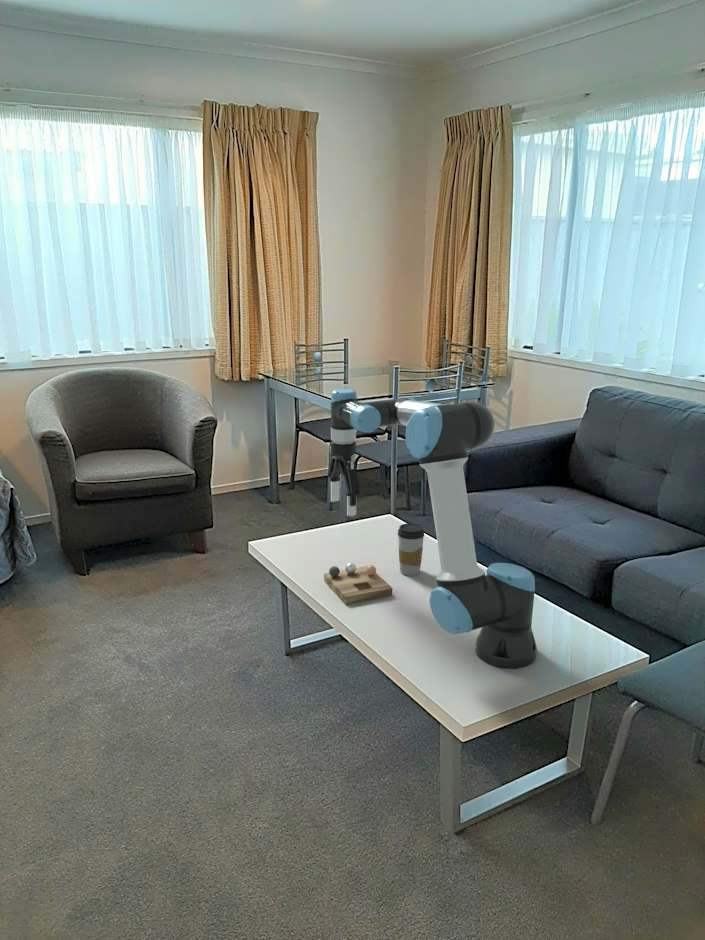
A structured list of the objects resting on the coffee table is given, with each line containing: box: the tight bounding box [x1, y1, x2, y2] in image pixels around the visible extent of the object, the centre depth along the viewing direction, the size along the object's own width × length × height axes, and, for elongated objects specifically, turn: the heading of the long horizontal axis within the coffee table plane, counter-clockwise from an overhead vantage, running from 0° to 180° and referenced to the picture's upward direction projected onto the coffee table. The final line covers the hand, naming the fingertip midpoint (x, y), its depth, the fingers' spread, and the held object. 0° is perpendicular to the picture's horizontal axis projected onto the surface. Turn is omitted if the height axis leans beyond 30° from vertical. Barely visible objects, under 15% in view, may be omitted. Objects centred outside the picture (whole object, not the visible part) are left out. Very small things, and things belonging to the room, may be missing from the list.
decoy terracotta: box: [366, 564, 377, 576], centre depth 227 cm, size 3×3×3 cm
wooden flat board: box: [323, 565, 393, 605], centre depth 224 cm, size 17×15×2 cm
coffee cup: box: [397, 522, 425, 577], centre depth 234 cm, size 8×8×15 cm
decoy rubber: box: [328, 565, 341, 577], centre depth 226 cm, size 3×3×3 cm
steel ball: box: [344, 562, 357, 574], centre depth 228 cm, size 3×3×3 cm
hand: (343, 508), depth 229 cm, fingers open, 13 cm apart
